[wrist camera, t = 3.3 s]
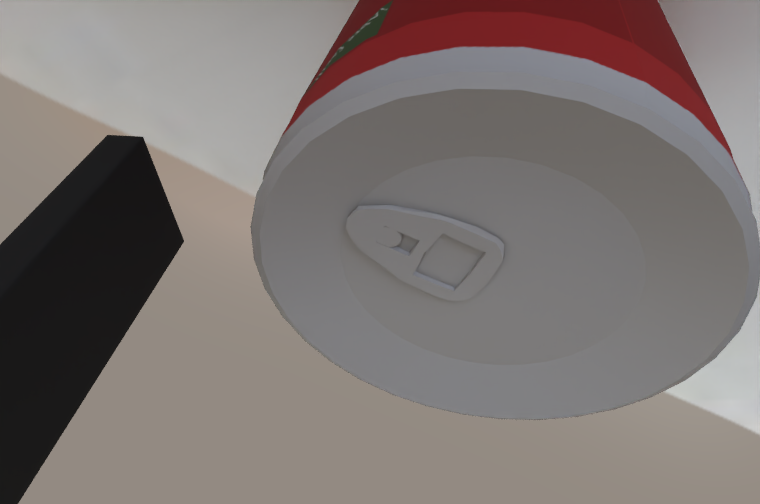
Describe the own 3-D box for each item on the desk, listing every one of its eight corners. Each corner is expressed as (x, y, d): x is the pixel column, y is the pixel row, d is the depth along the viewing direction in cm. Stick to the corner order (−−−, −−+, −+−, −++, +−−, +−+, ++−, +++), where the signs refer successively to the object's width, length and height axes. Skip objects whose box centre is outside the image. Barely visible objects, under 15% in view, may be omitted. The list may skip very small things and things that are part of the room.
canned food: (389, -152, 14) (228, 7, 6) (702, -93, 14) (933, 151, 6) (360, 111, 20) (253, 371, 12) (584, 158, 19) (628, 458, 11)
